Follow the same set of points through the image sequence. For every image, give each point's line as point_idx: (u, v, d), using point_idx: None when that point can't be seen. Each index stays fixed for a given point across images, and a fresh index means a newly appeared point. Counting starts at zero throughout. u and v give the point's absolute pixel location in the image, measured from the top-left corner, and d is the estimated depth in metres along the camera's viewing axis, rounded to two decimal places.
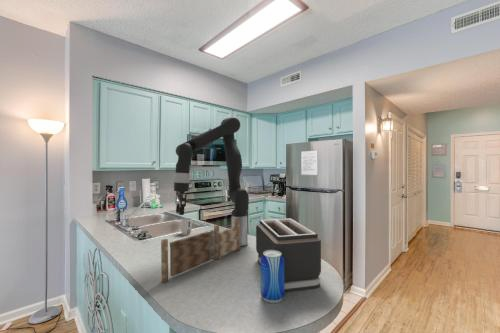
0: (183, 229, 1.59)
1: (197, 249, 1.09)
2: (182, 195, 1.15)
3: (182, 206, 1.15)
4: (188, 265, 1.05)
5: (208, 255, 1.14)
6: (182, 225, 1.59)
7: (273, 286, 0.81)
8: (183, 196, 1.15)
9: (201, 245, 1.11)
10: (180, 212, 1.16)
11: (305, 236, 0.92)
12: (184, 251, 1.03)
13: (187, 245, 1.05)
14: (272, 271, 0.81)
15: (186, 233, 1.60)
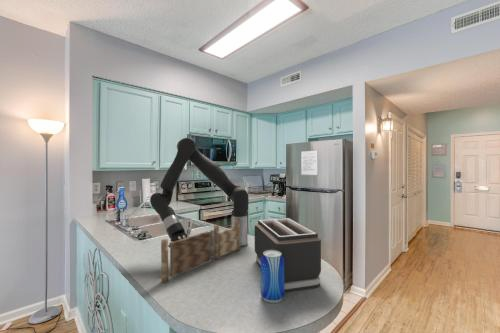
0: None
1: (197, 249, 1.09)
2: (169, 246, 1.07)
3: None
4: (188, 265, 1.05)
5: (208, 255, 1.14)
6: (182, 225, 1.59)
7: (273, 286, 0.81)
8: None
9: (201, 245, 1.11)
10: None
11: (305, 236, 0.92)
12: (184, 252, 1.03)
13: (187, 245, 1.05)
14: (272, 271, 0.81)
15: (186, 233, 1.60)
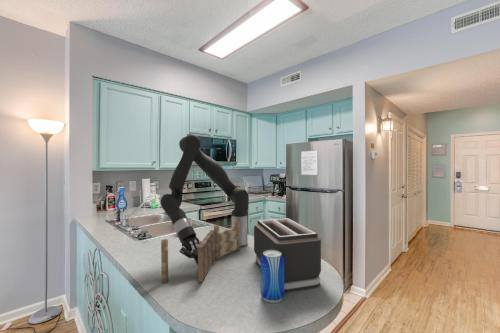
0: None
1: (209, 250, 1.07)
2: (180, 251, 1.02)
3: None
4: (206, 267, 1.02)
5: (212, 255, 1.14)
6: None
7: (273, 286, 0.81)
8: (182, 251, 1.01)
9: (210, 246, 1.10)
10: None
11: (305, 236, 0.92)
12: (205, 254, 1.00)
13: (206, 247, 1.02)
14: (272, 271, 0.81)
15: None
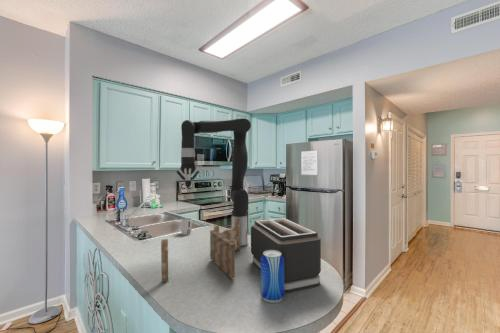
0: (183, 229, 1.59)
1: None
2: None
3: None
4: None
5: None
6: (182, 225, 1.59)
7: (273, 286, 0.81)
8: None
9: None
10: None
11: (306, 235, 0.93)
12: None
13: None
14: (272, 271, 0.81)
15: (186, 233, 1.60)
